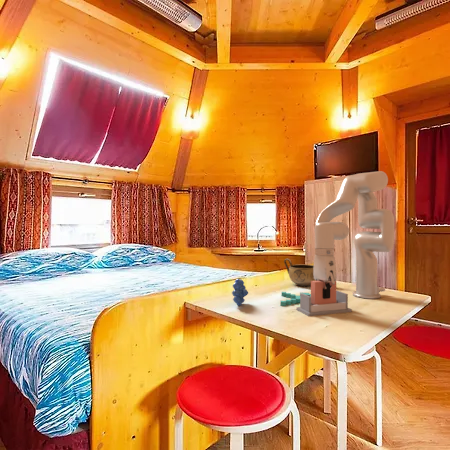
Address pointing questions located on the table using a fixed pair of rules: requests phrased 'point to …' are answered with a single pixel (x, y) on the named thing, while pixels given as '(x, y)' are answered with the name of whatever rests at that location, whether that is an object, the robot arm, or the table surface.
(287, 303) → the alien figure
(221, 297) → the table surface
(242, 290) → the grapes
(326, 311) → the track
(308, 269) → the ceramic bowl
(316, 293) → the salmon pink rectangular block
